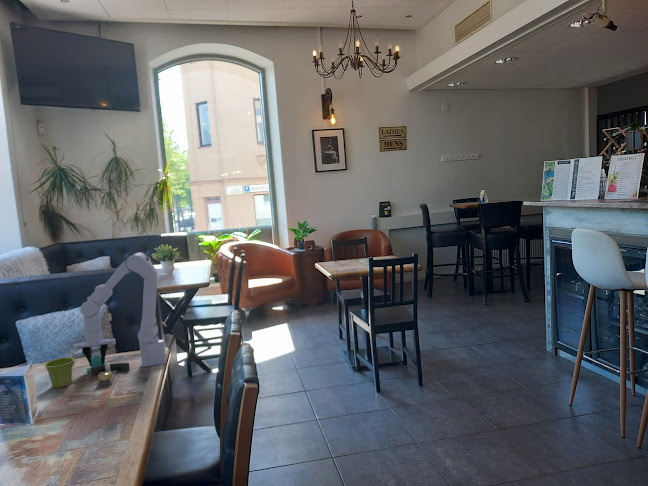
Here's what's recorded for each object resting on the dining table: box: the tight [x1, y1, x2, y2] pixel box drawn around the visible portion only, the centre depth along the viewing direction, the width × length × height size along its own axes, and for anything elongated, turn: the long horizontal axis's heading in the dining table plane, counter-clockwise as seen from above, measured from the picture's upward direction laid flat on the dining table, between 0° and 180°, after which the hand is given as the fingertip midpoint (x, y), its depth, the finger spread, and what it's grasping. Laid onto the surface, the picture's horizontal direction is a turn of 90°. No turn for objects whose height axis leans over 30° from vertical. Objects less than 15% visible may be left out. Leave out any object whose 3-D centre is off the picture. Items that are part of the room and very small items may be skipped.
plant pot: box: [44, 356, 75, 389], centre depth 177 cm, size 9×9×9 cm
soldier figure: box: [69, 351, 79, 360], centre depth 199 cm, size 8×5×12 cm
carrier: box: [89, 361, 131, 387], centre depth 181 cm, size 14×15×5 cm
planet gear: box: [86, 354, 106, 374], centre depth 191 cm, size 8×8×5 cm
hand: (97, 364), depth 191 cm, fingers closed on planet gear, 4 cm apart
